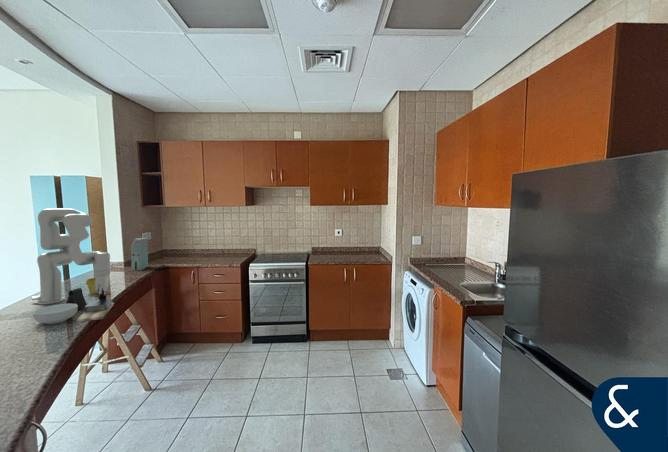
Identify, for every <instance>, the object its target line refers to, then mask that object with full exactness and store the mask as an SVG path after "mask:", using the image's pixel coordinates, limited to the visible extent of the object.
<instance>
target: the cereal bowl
mask: <svg viewBox="0 0 668 452" xmlns="http://www.w3.org/2000/svg"><path fill="white" fill-rule="evenodd" d="M77 310H78V305H77V304H66V303H59V304H54V305H48V306H44V307H40V308H38V309H36V310H34V311H33V312H32V317H33V319H34V321H36V322H37V323H42V324H46V325H54V324H55V325H56V324H61V323H63V322H66V321H67V320H69V319H71V318H73V317H74V316H75V315H76V314H77V312H78V311H77Z"/></svg>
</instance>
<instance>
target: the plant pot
mask: <svg viewBox="0 0 668 452" xmlns="http://www.w3.org/2000/svg"><path fill="white" fill-rule="evenodd" d="M95 279H96V277H92V278H88V279H86V280H85V282H86V283H85V284H86V286H87V288H88V289H87V290H88V291H89V294H91V295H95V294H96V295H97V294H99V290H98V291H97V292H95Z"/></svg>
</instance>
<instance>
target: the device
mask: <svg viewBox="0 0 668 452" xmlns="http://www.w3.org/2000/svg"><path fill="white" fill-rule="evenodd" d="M148 243H149V238H148V237H139V238H138V237H137V238H134V239H133V242H132V243H131V245H130V247H131V250H130V251H131V255H130V257H131V262H130V263H131V271H142V270H145V269H146V267H147V268H148V267H149V246H148V245H149V244H148Z"/></svg>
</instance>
